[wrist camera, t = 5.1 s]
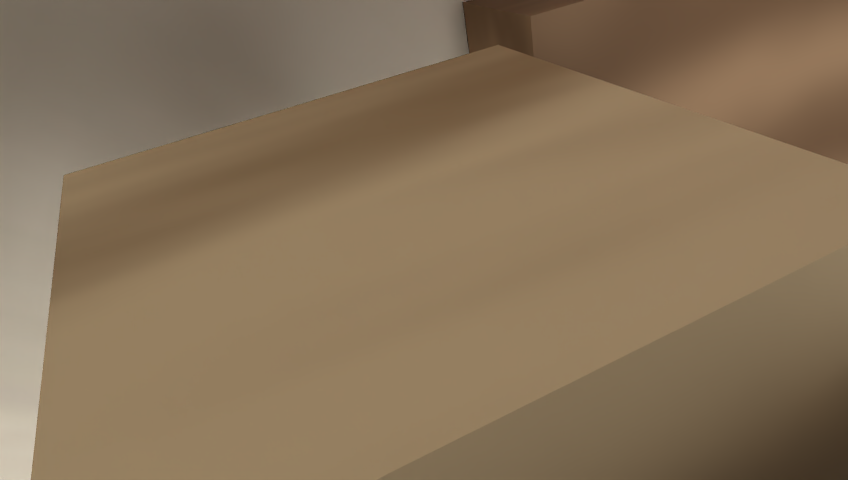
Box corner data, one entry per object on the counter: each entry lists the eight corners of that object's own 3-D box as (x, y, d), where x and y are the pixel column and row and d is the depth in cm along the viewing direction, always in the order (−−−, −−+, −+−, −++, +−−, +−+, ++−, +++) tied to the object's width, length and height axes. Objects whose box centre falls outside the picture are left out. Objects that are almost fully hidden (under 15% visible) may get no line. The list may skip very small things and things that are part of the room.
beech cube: (64, 175, 7) (12, 660, 3) (497, 44, 9) (943, 196, 4) (226, 491, 11) (336, 974, 6) (526, 350, 12) (803, 633, 8)
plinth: (462, 2, 21) (530, 16, 17) (814, -94, 25) (920, -97, 22) (511, 367, 29) (563, 423, 25) (770, 245, 33) (843, 279, 30)
